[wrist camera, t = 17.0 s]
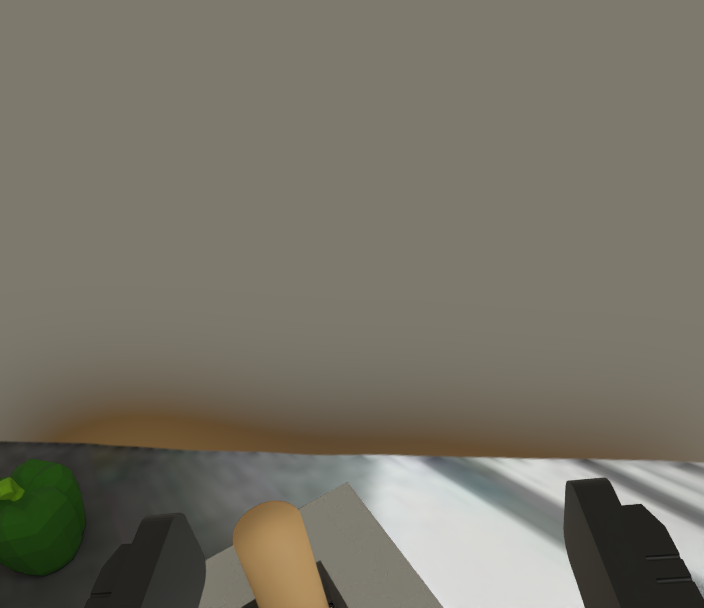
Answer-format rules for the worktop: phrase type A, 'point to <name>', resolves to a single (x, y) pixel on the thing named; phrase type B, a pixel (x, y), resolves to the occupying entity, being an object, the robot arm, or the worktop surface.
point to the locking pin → (278, 557)
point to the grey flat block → (333, 561)
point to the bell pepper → (40, 518)
